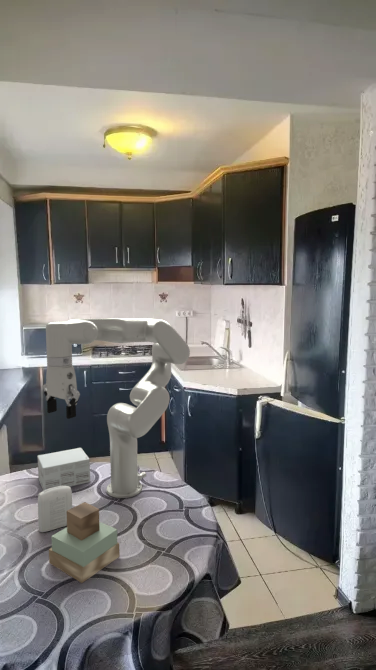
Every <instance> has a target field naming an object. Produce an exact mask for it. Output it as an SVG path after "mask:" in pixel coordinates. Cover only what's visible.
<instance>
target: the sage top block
mask: <svg viewBox="0 0 376 670" xmlns="http://www.w3.org/2000/svg"><path fill="white" fill-rule="evenodd" d="M99 525H100V530H99V531H97V532H96V533H94V534H92V535H90V536H89V537H87V538H85V539H83V540H80V539H78V538H76V537H74V536H73V535H71V534H69V533H68V532H67V526H65V527H64V528H63V529H61V530H60V531H58V532H56V533H54V534H52V535H51V536H50V537H51V548H52V551H54V552H56V553H58V554H60V555H62V556H64V557H65V558H67V559H69V560H71V561H73V562H75V563H77V564H79V565H80V566H82V567H85V566H86V565H87V564H89V563H90V562H92V561H93V560H94V559H96V558H97V557H99V556H100V555H102V554H103V553H104V552H106V551H107V550H109V549H110V548H111V547H113V546H114V545H116V544H117V542H118V529H117V528H116V527H112V526H110V525H108V524H105V523H103V522H101V521H99Z"/></svg>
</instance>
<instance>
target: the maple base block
mask: <svg viewBox="0 0 376 670" xmlns="http://www.w3.org/2000/svg"><path fill="white" fill-rule="evenodd" d="M120 555H121V554H120V542H118V541H117V544H116V545H114V546H113V547H111V548H110V549H109V550H107V551H106V552H104V553H103V554H102V555H100V556H99V557H97V558H96V559H94V560H93V561H92V562H90V563H89V564H87V565H86V566H85V567H82V566H80V565H79V564H77V563H75V562H73V561H71V560H69V559H67V558H65V557H64V556H62V555H60V554H58V553H56V552H54V551H52V547H50V548H49V549H48V561H49V563H48V564H50V565H51V566H53V567H54V568H56V569H58V570H59V571H62V572H63V573H65V574H66V575H68V576H70V577H71V578H73V579H74V580H77V582H79V583H81V584H83V583H85V582H86V581H87V580H88V579H90V578H91V577H93V576H94V575H96V574H97V573H99V572H100V571H101V570H103V569H104V568H106V567H107V566H108V565H110V564H111V563H113V562H115V561H116V560H117V559H118V558H120Z"/></svg>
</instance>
